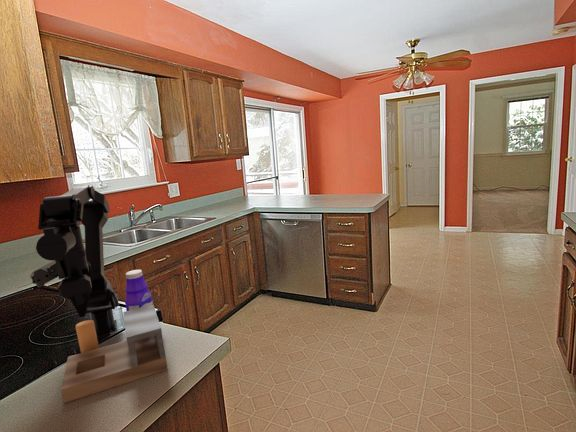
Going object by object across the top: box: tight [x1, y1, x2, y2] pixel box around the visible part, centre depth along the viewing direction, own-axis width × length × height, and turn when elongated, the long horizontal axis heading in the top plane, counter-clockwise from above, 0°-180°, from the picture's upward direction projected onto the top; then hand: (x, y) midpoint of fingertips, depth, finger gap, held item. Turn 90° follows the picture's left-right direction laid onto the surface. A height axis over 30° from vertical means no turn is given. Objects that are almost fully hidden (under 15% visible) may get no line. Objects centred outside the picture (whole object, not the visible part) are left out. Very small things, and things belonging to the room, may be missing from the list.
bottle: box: [124, 269, 154, 311], centre depth 98 cm, size 7×6×17 cm
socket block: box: [60, 304, 169, 404], centre depth 81 cm, size 15×20×10 cm
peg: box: [75, 319, 100, 353], centre depth 89 cm, size 4×4×8 cm
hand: (82, 309), depth 88 cm, fingers open, 9 cm apart
